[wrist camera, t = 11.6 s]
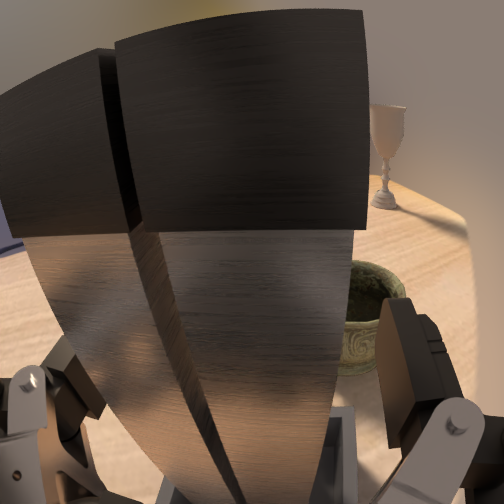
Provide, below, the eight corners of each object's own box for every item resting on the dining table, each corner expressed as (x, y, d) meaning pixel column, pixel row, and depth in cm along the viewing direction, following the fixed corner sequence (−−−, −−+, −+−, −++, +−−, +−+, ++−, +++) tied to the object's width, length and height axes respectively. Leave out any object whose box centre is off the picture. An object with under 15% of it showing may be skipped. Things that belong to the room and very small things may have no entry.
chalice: (409, 207, 52) (415, 108, 43) (383, 214, 50) (387, 107, 41) (384, 195, 58) (386, 104, 49) (357, 200, 56) (358, 103, 47)
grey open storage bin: (338, 569, 10) (355, 565, 7) (174, 553, 11) (142, 542, 9) (342, 443, 18) (354, 406, 15) (206, 436, 19) (189, 398, 17)
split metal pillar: (302, 543, 11) (398, 1, 1) (212, 534, 12) (-46, 118, 2) (309, 471, 15) (333, 59, 6) (228, 465, 16) (125, 84, 7)
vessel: (341, 415, 20) (353, 359, 17) (260, 356, 26) (254, 299, 23) (416, 329, 26) (431, 273, 23) (344, 294, 33) (348, 241, 30)
